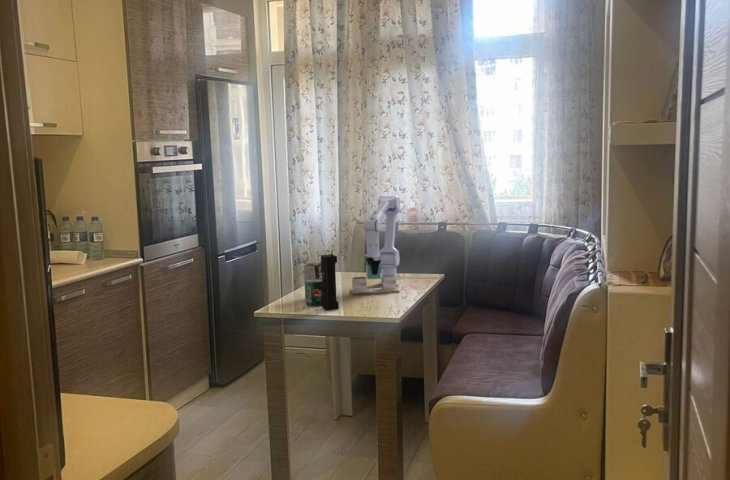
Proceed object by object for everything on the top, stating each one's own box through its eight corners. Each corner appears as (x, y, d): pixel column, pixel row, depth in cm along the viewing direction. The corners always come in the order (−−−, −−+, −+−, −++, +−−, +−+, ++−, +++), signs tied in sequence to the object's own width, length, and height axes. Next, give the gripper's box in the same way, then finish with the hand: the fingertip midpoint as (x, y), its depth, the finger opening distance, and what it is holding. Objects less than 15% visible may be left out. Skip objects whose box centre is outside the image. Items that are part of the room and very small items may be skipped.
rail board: (349, 292, 325) (349, 276, 324) (395, 289, 329) (394, 273, 328) (352, 295, 316) (352, 279, 316) (399, 292, 320) (399, 276, 319)
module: (366, 277, 324) (365, 264, 323) (378, 276, 325) (378, 263, 324) (368, 279, 319) (367, 265, 319) (380, 278, 320) (380, 264, 320)
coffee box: (318, 301, 305) (317, 265, 304) (304, 301, 307) (303, 265, 305) (324, 297, 314) (322, 262, 312) (310, 297, 316) (309, 262, 314)
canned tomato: (311, 303, 303) (310, 278, 301) (327, 303, 300) (326, 278, 299) (303, 306, 295) (302, 281, 294) (319, 307, 292) (318, 282, 291)
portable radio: (319, 307, 292) (317, 249, 289) (333, 306, 294) (331, 248, 292) (325, 311, 285) (323, 251, 282) (339, 309, 287) (337, 250, 284)
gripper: (361, 243, 327) (362, 272, 328) (367, 247, 313) (368, 276, 314) (376, 243, 328) (377, 271, 329) (382, 246, 314) (383, 275, 315)
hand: (373, 273), depth 322 cm, fingers closed on module, 4 cm apart
